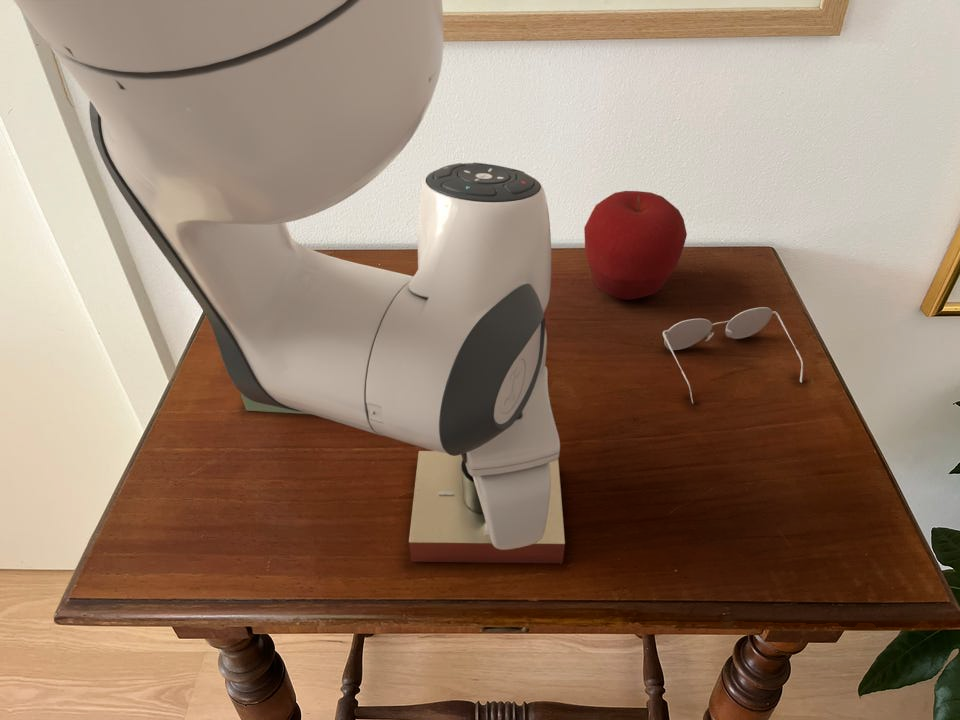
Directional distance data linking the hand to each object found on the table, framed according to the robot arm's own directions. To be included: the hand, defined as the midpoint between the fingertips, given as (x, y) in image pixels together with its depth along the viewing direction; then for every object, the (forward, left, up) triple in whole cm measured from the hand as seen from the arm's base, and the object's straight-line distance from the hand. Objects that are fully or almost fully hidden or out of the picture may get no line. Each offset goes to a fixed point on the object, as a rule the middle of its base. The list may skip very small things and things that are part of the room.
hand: (486, 486), depth 63 cm
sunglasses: (+30, -14, -4) cm, 33 cm away
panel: (0, 0, -4) cm, 4 cm away
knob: (0, 0, -1) cm, 1 cm away
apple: (+38, +1, -4) cm, 38 cm away
